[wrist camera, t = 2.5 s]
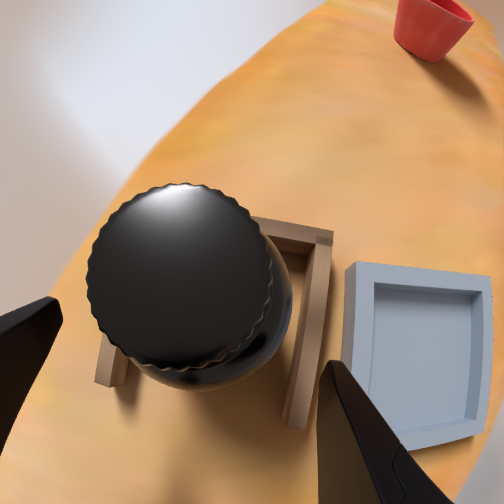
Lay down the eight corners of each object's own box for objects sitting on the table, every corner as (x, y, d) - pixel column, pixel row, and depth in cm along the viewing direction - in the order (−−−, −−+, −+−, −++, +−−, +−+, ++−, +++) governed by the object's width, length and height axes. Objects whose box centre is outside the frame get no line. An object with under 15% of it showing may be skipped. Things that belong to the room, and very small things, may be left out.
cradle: (297, 419, 16) (305, 429, 14) (111, 379, 17) (94, 382, 14) (323, 245, 20) (333, 231, 18) (150, 215, 20) (140, 198, 18)
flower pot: (457, 62, 30) (481, 19, 21) (434, 77, 28) (464, 23, 19) (403, 24, 33) (420, -20, 23) (370, 32, 30) (388, -23, 21)
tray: (467, 428, 16) (483, 432, 14) (329, 449, 16) (339, 458, 14) (474, 283, 20) (490, 276, 18) (345, 270, 20) (356, 260, 18)
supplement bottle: (198, 246, 20) (153, 118, 8) (291, 298, 19) (364, 219, 7) (143, 336, 18) (18, 306, 6) (236, 394, 17) (229, 466, 5)
